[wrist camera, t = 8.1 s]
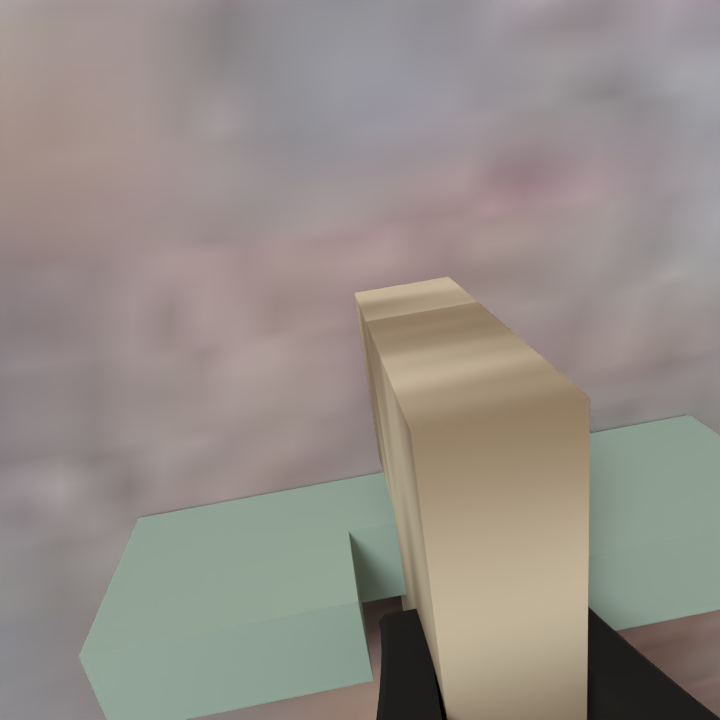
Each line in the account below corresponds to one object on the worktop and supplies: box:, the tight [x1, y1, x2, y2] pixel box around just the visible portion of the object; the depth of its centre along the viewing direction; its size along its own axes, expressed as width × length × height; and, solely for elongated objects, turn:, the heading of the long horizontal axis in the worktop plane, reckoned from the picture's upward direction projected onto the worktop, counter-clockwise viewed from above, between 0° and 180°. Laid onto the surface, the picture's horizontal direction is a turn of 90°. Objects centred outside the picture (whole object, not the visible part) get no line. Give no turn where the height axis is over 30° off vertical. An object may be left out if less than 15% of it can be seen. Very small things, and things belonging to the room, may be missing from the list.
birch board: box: [354, 277, 590, 720], centre depth 11 cm, size 12×2×6 cm, turn 8°
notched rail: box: [79, 415, 720, 720], centre depth 12 cm, size 2×14×4 cm, turn 99°
